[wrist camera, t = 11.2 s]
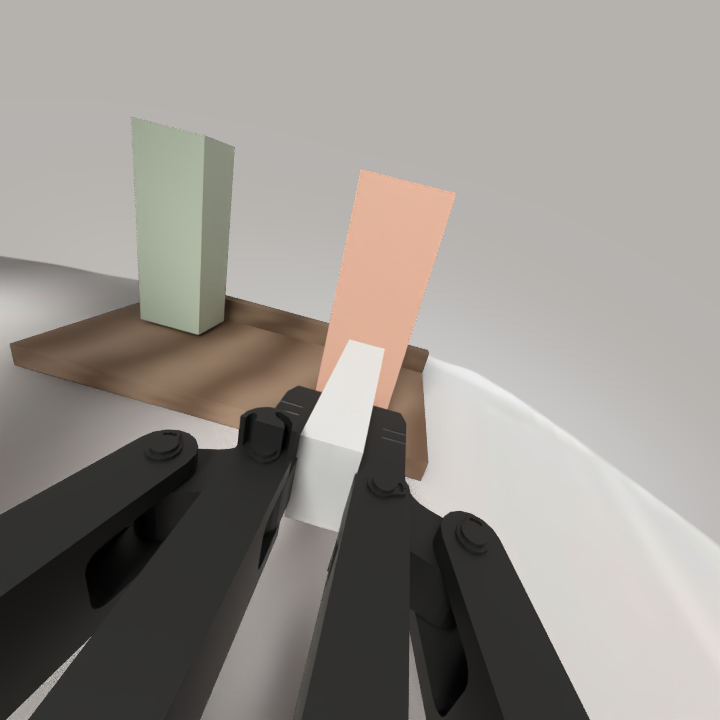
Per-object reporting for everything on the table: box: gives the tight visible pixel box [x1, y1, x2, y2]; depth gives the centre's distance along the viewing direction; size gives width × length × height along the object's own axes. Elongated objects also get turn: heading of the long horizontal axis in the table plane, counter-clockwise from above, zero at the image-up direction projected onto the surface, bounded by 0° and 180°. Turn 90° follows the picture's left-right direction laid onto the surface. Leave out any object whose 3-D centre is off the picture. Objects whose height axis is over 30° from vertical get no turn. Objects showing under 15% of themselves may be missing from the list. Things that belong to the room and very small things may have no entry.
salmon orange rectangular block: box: [316, 169, 456, 409], centre depth 22 cm, size 5×4×14 cm
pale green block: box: [131, 117, 235, 335], centre depth 26 cm, size 5×4×14 cm
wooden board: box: [10, 295, 429, 481], centre depth 27 cm, size 27×15×4 cm, turn 82°
